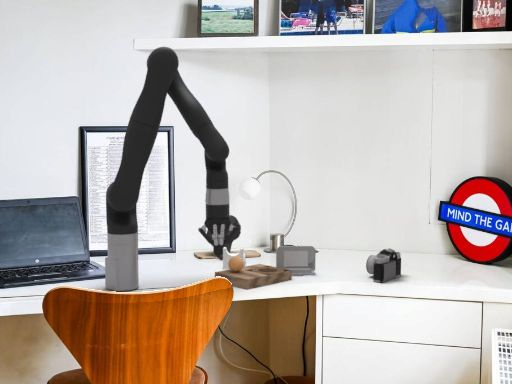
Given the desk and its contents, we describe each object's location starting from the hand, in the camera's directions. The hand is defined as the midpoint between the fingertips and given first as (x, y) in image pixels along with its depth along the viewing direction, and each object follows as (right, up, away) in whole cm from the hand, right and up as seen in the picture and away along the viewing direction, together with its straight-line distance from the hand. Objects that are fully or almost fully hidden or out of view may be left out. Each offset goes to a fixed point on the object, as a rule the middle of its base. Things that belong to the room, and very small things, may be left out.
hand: (218, 256), depth 214 cm
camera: (+54, -8, +8) cm, 55 cm away
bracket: (+4, -6, +27) cm, 28 cm away
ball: (+6, -3, +1) cm, 6 cm away
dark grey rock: (0, -5, +42) cm, 43 cm away
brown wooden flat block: (+11, -8, +3) cm, 14 cm away
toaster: (+25, -7, +15) cm, 30 cm away
